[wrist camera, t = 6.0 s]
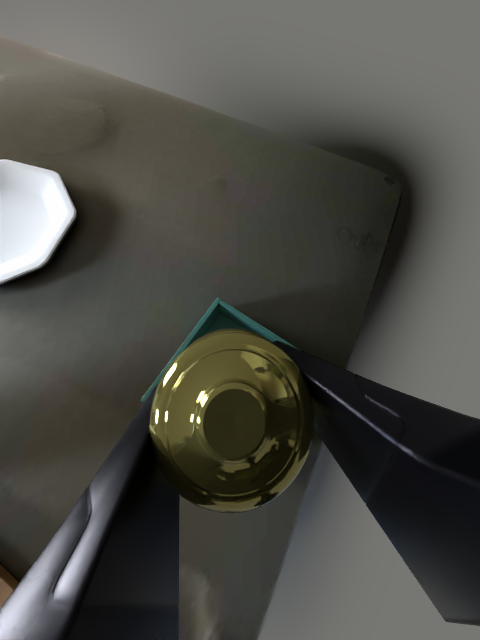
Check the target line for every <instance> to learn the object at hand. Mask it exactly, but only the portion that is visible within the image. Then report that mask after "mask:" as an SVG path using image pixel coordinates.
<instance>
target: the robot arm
mask: <svg viewBox="0 0 480 640" xmlns="http://www.w3.org/2000/svg"><path fill="white" fill-rule="evenodd" d="M272 343H273V344H275V345H276V346H278V347H279V348H281V349H282V350H283V351H284V352H285V353H286V354H287V355H288V356H289V357H290V358H291V359H292V360H293V361H294V362H295V364H296V365H297V367H298V368H299V370H300V371H301V373H302V375H303V377H304V379H305V381H306V383H307V386H308V388H309V391H310V395H311V399H312V403H313V410H314V429H315V430H316V432H317V433H318V435H319V436H320V438H321V439H322V441H323V442H324V444H325V445H326V446H327V448H328V449H329V451H330V452H331V454H332V455H333V457H334V458H335V460H336V461H337V463H338V464H339V466H340V467H341V468H342V470H343V472H344V473H345V474H346V476H347V477H348V479H349V480H350V482H351V483H352V485H353V486H354V488H355V489H356V491H357V492H358V494H359V495H360V497H361V498H362V499H363V501H364V502H365V503H366V506H367V507H368V508H369V510H370V511H371V513H372V514H373V516H374V517H375V519H376V520H377V522H378V523H379V525H380V526H381V527H382V529H383V530H384V532H385V533H386V535H387V536H388V538H389V539H390V541H391V542H392V544H393V545H394V547H395V548H396V550H397V551H398V553H399V554H400V556H401V557H402V558H403V560H404V562H405V563H406V564H407V566H408V567H409V569H410V570H411V572H412V573H413V575H414V576H415V578H416V579H417V581H418V582H419V583H420V585H421V587H422V588H423V590H424V591H425V592H426V594H427V595H428V597H429V598H430V600H431V601H432V603H433V604H434V606H435V607H436V608H437V610H438V612H439V613H440V614H441V616H442V617H443V618H444V620H445V621H446V622H451V623H460V624H469V625H477V626H480V419H478V418H474V417H470V416H467V415H464V414H461V413H458V412H455V411H452V410H450V409H447V408H444V407H441V406H438V405H436V404H432V403H430V402H427V401H424V400H421V399H419V398H416V397H413V396H410V395H407V394H405V393H402V392H399V391H396V390H394V389H391V388H388V387H386V386H383V385H381V384H378V383H376V382H373V381H371V380H368V379H366V378H364V377H361V376H359V375H357V374H353V373H352V372H350V371H347V370H345V369H343V368H341V367H338V366H336V365H334V364H331V363H329V362H327V361H324V360H322V359H320V358H318V357H315V356H313V355H311V354H308V353H306V352H304V351H301V350H299V349H297V348H294V347H292V346H290V345H288V344H285V343H283V342H281V341H278V340H276V341H274V342H272ZM157 386H158V384H157V385H156V386H155V387H154V389H153V390H152V392H151V393H150V395H149V396H148V398H147V399H146V401H145V402H144V404H143V405H142V407H141V408H140V410H139V411H138V413H137V414H136V416H135V417H134V418H133V420H132V421H131V423H130V424H129V426H128V427H127V429H126V430H125V432H124V433H123V435H122V436H121V438H120V439H119V441H118V442H117V444H116V445H115V447H114V448H113V450H112V451H111V453H110V454H109V456H108V457H107V459H106V460H105V461H104V463H103V464H102V466H101V467H100V469H99V470H98V472H97V473H96V475H95V476H94V478H93V479H92V481H91V482H90V484H89V487H88V488H86V490H85V491H84V492H83V494H82V495H81V497H80V498H79V500H78V501H77V503H76V504H75V506H74V507H73V509H72V510H71V512H70V513H69V514H68V516H67V517H66V519H65V520H64V522H63V523H62V525H61V526H60V527H59V529H58V530H57V532H56V533H55V535H54V536H53V537H52V539H51V540H50V541H49V543H48V544H47V545H46V547H45V548H44V550H43V551H42V552H41V554H40V555H39V556H38V558H37V559H36V561H35V562H34V563H33V565H32V566H31V567H30V569H29V570H28V572H27V573H26V574H25V576H24V577H23V578H22V580H21V581H20V582H19V584H18V585H17V586H16V588H15V589H14V590H13V592H12V593H11V594H10V596H9V597H8V598H7V600H6V601H5V602H4V604H3V605H2V607H1V608H0V640H178V627H179V608H178V604H179V493H178V492H177V491H176V490H175V489H174V488H173V487H172V486H171V485H170V483H169V482H168V481H167V479H166V478H165V476H164V475H163V473H162V471H161V469H160V468H159V466H158V463H157V461H156V458H155V455H154V452H153V448H152V444H151V437H150V413H151V406H152V402H153V398H154V395H155V392H156V389H157Z"/></svg>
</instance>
